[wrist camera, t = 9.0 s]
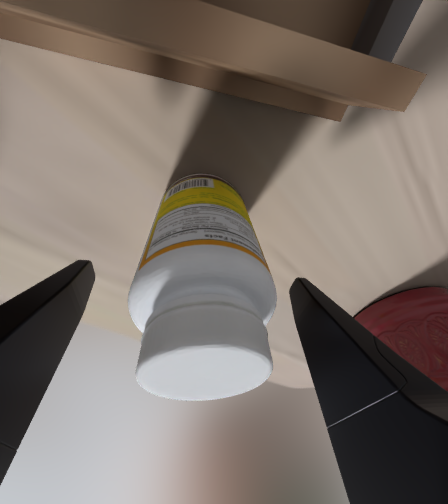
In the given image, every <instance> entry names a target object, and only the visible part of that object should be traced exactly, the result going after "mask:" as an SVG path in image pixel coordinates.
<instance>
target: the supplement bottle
mask: <svg viewBox="0 0 448 504" xmlns="http://www.w3.org/2000/svg"><path fill="white" fill-rule="evenodd" d="M276 300H277V296H276V288H275V285H274V281H273V279H272V276H271V273H270V271H269V268H268V265H267V263H266V260H265V258H264V255H263V252H262V250H261V247H260V244H259V241H258V239H257V237H256V234H255V231H254V228H253V226H252V223H251V221H250V218H249V215H248V213H247V210H246V207H245V205H244V202H243V200H242V198H241V196H240V194H239V193H238V191H237V190H236V189H235V188H234V187H233V186H232V185H231V184H230V183H229V182H227V181H226V180H224V179H222V178H220V177H217V176H214V175H209V174H193V175H189V176H186V177H183V178H181V179H179V180H178V181H176V182H175V183H173V184H172V185H171V186H170V187H169V188H168V190H167V191H166V192H165V194H164V196H163V198H162V200H161V203H160V206H159V208H158V211H157V214H156V217H155V220H154V222H153V225H152V228H151V231H150V234H149V237H148V240H147V242H146V245H145V248H144V251H143V254H142V257H141V259H140V262H139V265H138V268H137V271H136V273H135V276H134V279H133V282H132V284H131V288H130V291H129V296H128V308H129V312H130V316H131V318H132V320H133V322H134V323H135V325H136V326H137V328H138V329H139V330H140V331H141V332H142V333H143V335H142V338H141V350H140V355H139V359H138V364H137V369H136V379H137V382H138V383H139V385H140V386H141V387H142V388H143V389H145V390H146V391H148V392H150V393H152V394H155V395H157V396H161V397H164V398H169V399H175V400H185V401H201V400H214V399H220V398H225V397H230V396H234V395H238V394H241V393H244V392H246V391H249V390H251V389H253V388H255V387H257V386H259V385H261V384H262V383H263V382H264V381H266V380H267V379H268V377H269V376H270V375H271V372H272V370H273V361H272V357H271V352H270V348H269V343H268V333H267V329H266V327H265V326H266V324H267V323H268V322H269V320H270V319H271V317H272V315H273V313H274V310H275V307H276Z"/></svg>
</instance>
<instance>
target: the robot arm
mask: <svg viewBox="0 0 448 504" xmlns="http://www.w3.org/2000/svg"><path fill="white" fill-rule="evenodd" d="M94 281H95V272H94V269H93V265H92V262H91V261H89V260H77V261H76V262H74V263H72V264H70V265H69V266H67V267H65V268H64V269H62V270H60V271H58V272H57V273H55V274H53V275H52V276H50V277H48V278H46V279H45V280H43V281H41V282H39V283H38V284H36V285H34V286H33V287H31V288H29V289H27V290H26V291H24V292H22V293H21V294H19V295H17V296H15V297H14V298H12V299H10V300H9V301H7V302H5V303H3V304H2V305H0V485H1V483H2V481H3V479H4V477H5V475H6V473H7V470H8V468H9V466H10V464H11V462H12V460H13V458H14V456H15V454H16V452H17V449H18V448H19V445H20V443H21V441H22V439H23V437H24V435H25V433H26V431H27V429H28V427H29V425H30V423H31V421H32V419H33V417H34V415H35V413H36V410H37V408H38V406H39V404H40V402H41V400H42V398H43V396H44V394H45V392H46V390H47V387H48V386H49V384H50V382H51V380H52V377H53V375H54V373H55V371H56V369H57V367H58V365H59V363H60V361H61V359H62V357H63V355H64V353H65V351H66V349H67V346H68V345H69V342H70V340H71V338H72V336H73V334H74V332H75V330H76V328H77V326H78V324H79V322H80V320H81V318H82V315H83V313H84V310H85V307H86V305H87V302H88V299H89V296H90V293H91V290H92V287H93V284H94ZM289 294H290V299H291V304H292V310H293V315H294V320H295V324H296V327H297V331H298V334H299V337H300V341H301V344H302V347H303V350H304V354H305V357H306V360H307V364H308V367H309V370H310V373H311V377H312V380H313V383H314V387H315V390H316V393H317V396H318V399H319V403H320V406H321V410H322V413H323V416H324V419H325V423H326V426H327V430H328V433H329V437H330V440H331V443H332V446H333V450H334V453H335V456H336V459H337V463H338V466H339V469H340V473H341V476H342V479H343V483H344V486H345V489H346V492H347V496H348V499H349V502H350V504H448V391H446V390H445V389H443V388H442V387H441V386H439V385H438V384H437V383H435V382H434V381H433V380H431V379H430V378H429V377H427V376H426V375H425V374H423V373H422V372H421V371H419V370H418V369H417V368H415V367H414V366H413V365H411V364H410V363H409V362H407V361H406V360H405V359H403V358H402V357H401V356H400V355H398V354H397V353H396V352H394V351H393V350H392V349H391V348H389V347H388V346H387V345H386V344H384V343H383V342H382V341H381V340H380V339H378V338H377V337H376V336H375V335H373V334H372V333H371V332H370V331H369V330H367V329H366V328H365V327H364V326H363V325H361V324H360V323H359V322H358V321H357V320H355V319H354V318H353V317H352V316H351V315H349V314H348V313H347V312H346V311H345V310H343V309H342V308H341V307H340V306H338V305H337V304H336V303H335V302H334V301H332V300H331V299H330V298H329V297H328V296H326V295H325V294H324V293H323V292H322V291H320V290H319V289H318V288H317V287H316V286H314V285H313V284H312V283H311V282H310V281H308V280H307V279H306V278H299V277H298V278H296V279H295V281H294V282H293V284H292V286H291V288H290V290H289Z"/></svg>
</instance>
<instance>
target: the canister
mask: <svg viewBox="0 0 448 504" xmlns="http://www.w3.org/2000/svg"><path fill="white" fill-rule="evenodd" d="M354 319H355V320H357V321H358V322H359V323H360V324H361V325H363V326H364V327H365V328H366V329H367V330H369V331H370V332H371V333H372V334H373V335H375V336H376V337H377V338H378V339H380V340H381V341H382V342H383V343H384V344H386V345H387V346H388V347H389V348H391V349H392V350H393V351H394V352H396V353H397V354H398V355H400V356H401V357H402V358H403V359H405V360H406V361H407V362H409V363H410V364H411V365H413V366H414V367H415V368H417V369H418V370H419V371H421V372H422V373H423V374H425V375H426V376H427V377H429V378H430V379H431V380H433V381H434V382H435V383H437V384H438V385H439V386H441V387H442V388H443V389H445V390H446V391H448V289H446V288H441V287H424V288H417V289H412V290H408V291H404V292H401V293H398V294H395V295H392V296H390V297H387V298H385V299H383V300H380V301H378V302H377V303H375V304H373V305H371V306H369V307H368V308H366V309H365V310H363V311H362V312H361V313H359V314H358V315H357V316H356V317H355V318H354Z"/></svg>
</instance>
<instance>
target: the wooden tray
mask: <svg viewBox="0 0 448 504" xmlns="http://www.w3.org/2000/svg"><path fill="white" fill-rule="evenodd" d="M422 1H423V0H0V38H1V39H5V40H9V41H13V42H17V43H21V44H25V45H30V46H34V47H38V48H42V49H46V50H50V51H54V52H58V53H62V54H66V55H70V56H74V57H78V58H82V59H86V60H91V61H95V62H99V63H103V64H107V65H111V66H115V67H119V68H123V69H127V70H131V71H135V72H139V73H143V74H147V75H152V76H156V77H160V78H164V79H168V80H172V81H176V82H180V83H184V84H188V85H192V86H196V87H200V88H204V89H208V90H213V91H217V92H221V93H225V94H229V95H233V96H237V97H241V98H245V99H249V100H253V101H257V102H261V103H265V104H269V105H274V106H278V107H282V108H286V109H290V110H294V111H298V112H302V113H306V114H310V115H314V116H318V117H322V118H326V119H330V120H335V121H339V122H341V120H342V117H343V115H344V113H345V111H346V109H347V107H348V105H352V106H360V107H369V108H377V109H385V110H393V111H402V112H404V111H405V110H406V108H407V106H408V105H409V103H410V101H411V100H412V98H413V97H414V95H415V93H416V92H417V90H418V88H419V87H420V85H421V83H422V82H423V80H424V78H425V77H426V75H427V74H424V73H421V72H418V71H415V70H412V69H409V68H406V67H403V66H400V65H397V64H394V63H391V61H392V59H393V57H394V55H395V53H396V52H397V50H398V48H399V46H400V44H401V42H402V40H403V38H404V36H405V34H406V32H407V30H408V28H409V26H410V24H411V22H412V20H413V18H414V16H415V14H416V12H417V10H418V9H419V7H420V5H421V3H422Z"/></svg>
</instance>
